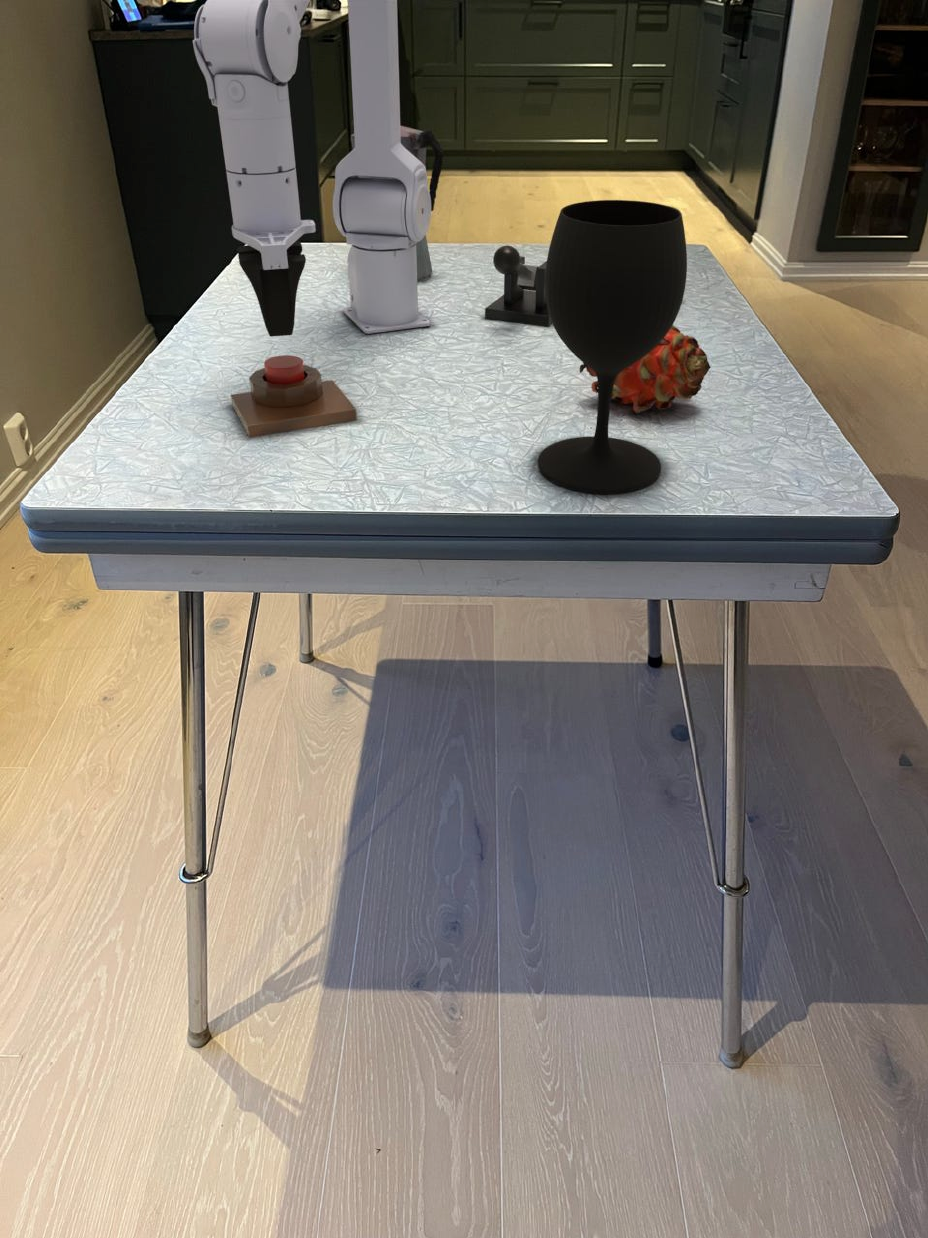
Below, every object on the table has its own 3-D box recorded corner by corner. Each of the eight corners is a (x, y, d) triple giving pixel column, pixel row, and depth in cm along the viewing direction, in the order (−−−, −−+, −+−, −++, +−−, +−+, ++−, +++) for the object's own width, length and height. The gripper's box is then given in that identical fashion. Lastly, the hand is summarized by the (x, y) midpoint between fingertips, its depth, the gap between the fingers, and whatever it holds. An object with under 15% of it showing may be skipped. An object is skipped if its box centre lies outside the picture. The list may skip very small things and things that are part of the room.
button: (270, 388, 87) (268, 370, 86) (262, 375, 89) (260, 357, 88) (309, 383, 88) (307, 365, 87) (299, 370, 91) (297, 352, 90)
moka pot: (381, 260, 134) (373, 101, 123) (469, 277, 127) (469, 109, 116) (336, 274, 128) (323, 108, 117) (425, 293, 121) (421, 118, 109)
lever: (513, 272, 102) (517, 243, 102) (487, 269, 103) (492, 240, 102) (543, 294, 113) (547, 268, 113) (519, 291, 114) (524, 266, 114)
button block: (249, 438, 84) (244, 406, 82) (229, 401, 91) (225, 371, 89) (357, 421, 87) (354, 390, 85) (330, 387, 94) (327, 357, 92)
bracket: (548, 326, 110) (550, 275, 106) (484, 318, 112) (485, 268, 109) (571, 305, 116) (574, 256, 113) (511, 297, 119) (512, 249, 116)
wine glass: (516, 452, 81) (523, 204, 70) (620, 432, 85) (643, 192, 73) (574, 504, 73) (593, 234, 62) (686, 480, 77) (724, 220, 65)
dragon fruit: (711, 429, 89) (584, 436, 92) (710, 353, 92) (587, 362, 95) (711, 378, 81) (573, 388, 84) (710, 296, 84) (576, 308, 87)
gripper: (318, 182, 73) (333, 353, 81) (301, 152, 85) (315, 304, 93) (225, 186, 72) (249, 360, 80) (221, 155, 84) (242, 310, 91)
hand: (280, 331), depth 86 cm, fingers closed
